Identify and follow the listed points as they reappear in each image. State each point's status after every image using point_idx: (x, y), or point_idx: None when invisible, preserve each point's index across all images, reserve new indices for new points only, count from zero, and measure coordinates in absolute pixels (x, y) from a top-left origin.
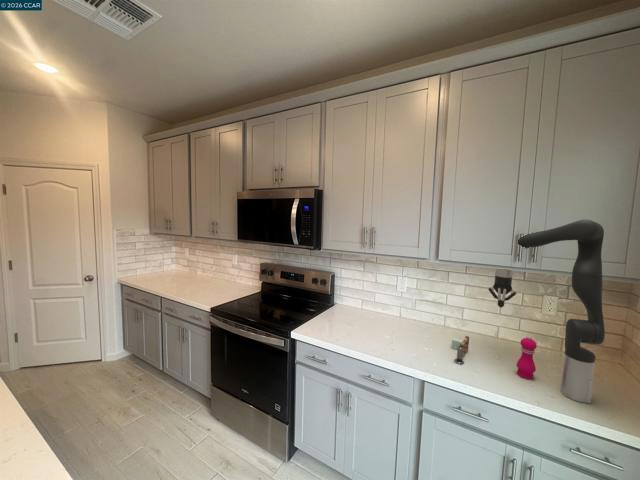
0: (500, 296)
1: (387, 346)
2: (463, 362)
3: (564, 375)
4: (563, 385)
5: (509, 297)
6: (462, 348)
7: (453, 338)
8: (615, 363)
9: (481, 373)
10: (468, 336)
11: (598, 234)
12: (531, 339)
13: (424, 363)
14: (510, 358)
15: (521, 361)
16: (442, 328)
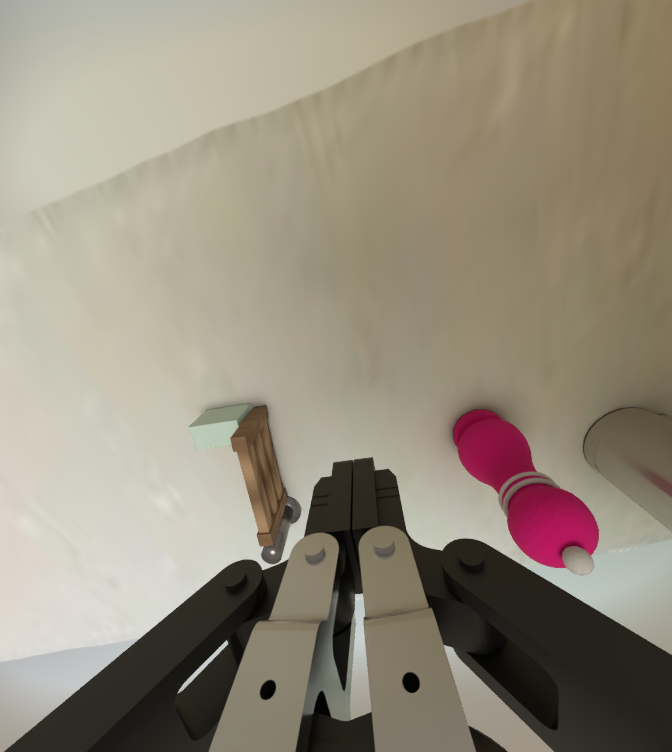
0: (347, 700)
1: (88, 579)
2: (297, 508)
3: (643, 506)
4: (610, 481)
5: (548, 708)
6: (280, 557)
7: (191, 432)
8: None
9: None
10: (241, 438)
11: None
12: (584, 548)
13: None
14: (411, 327)
15: (485, 483)
16: (58, 247)
